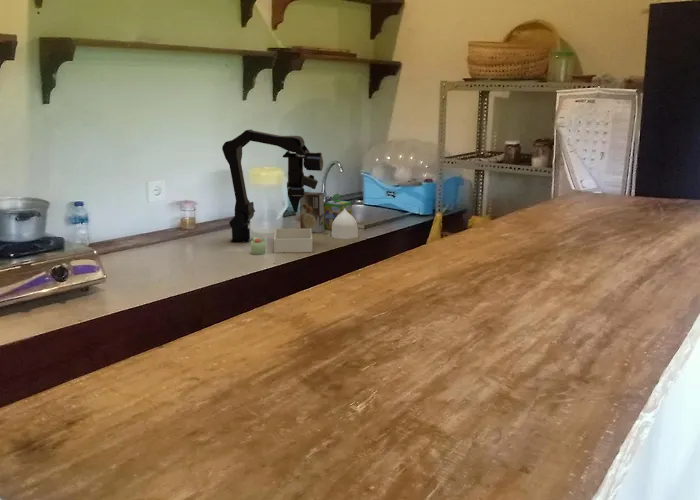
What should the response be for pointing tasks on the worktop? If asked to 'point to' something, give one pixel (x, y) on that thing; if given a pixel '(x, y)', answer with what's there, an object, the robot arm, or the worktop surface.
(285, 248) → the serving bin
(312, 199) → the coffee box
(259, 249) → the salad portion
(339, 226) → the teardrop
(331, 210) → the chalk box
